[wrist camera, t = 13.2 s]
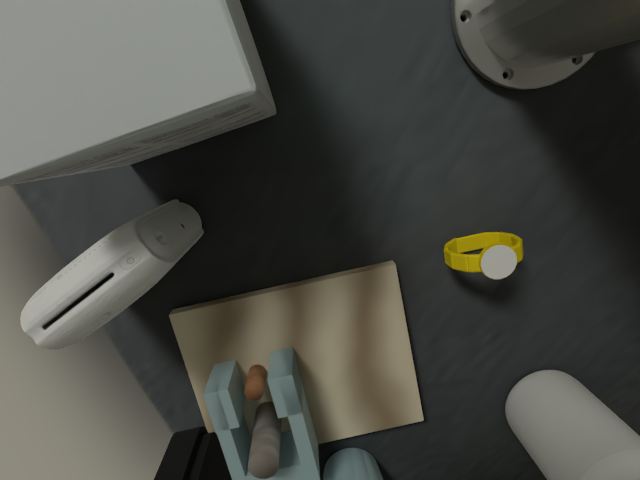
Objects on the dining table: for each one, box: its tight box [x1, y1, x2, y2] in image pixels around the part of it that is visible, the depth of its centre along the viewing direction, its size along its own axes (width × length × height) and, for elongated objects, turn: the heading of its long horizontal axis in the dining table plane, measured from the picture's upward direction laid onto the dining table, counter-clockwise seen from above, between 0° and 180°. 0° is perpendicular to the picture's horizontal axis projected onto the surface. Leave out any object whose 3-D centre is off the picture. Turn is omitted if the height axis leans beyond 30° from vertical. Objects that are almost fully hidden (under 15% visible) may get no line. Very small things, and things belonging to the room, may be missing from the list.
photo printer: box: [20, 199, 204, 349], centre depth 30 cm, size 10×4×12 cm, turn 127°
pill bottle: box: [505, 370, 640, 480], centre depth 34 cm, size 8×8×15 cm
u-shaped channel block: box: [203, 347, 320, 480], centre depth 37 cm, size 10×7×4 cm
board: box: [169, 260, 424, 479], centre depth 36 cm, size 20×16×8 cm
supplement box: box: [0, 0, 277, 186], centre depth 24 cm, size 13×13×18 cm
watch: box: [444, 232, 523, 279], centre depth 35 cm, size 6×3×6 cm, turn 102°
